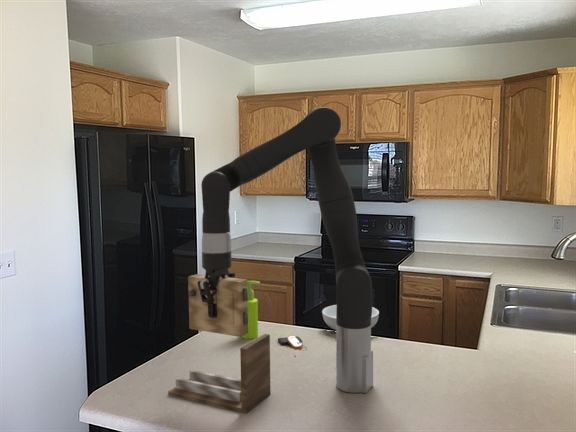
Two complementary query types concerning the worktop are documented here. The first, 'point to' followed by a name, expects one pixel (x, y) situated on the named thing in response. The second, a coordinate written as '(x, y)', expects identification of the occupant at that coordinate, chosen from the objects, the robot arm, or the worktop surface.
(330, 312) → the serving bowl
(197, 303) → the oak door
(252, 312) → the soap dispenser
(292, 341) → the multimeter
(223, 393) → the hinge base
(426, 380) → the worktop surface
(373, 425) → the worktop surface
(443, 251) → the worktop surface
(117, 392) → the worktop surface
